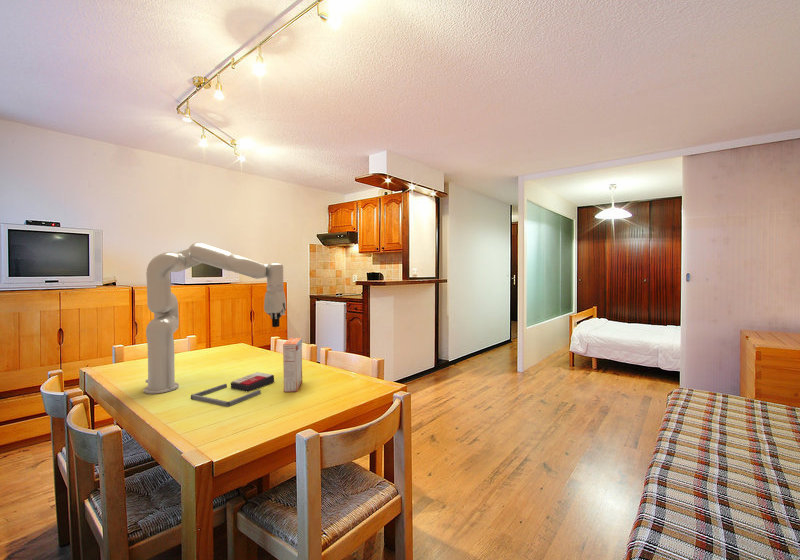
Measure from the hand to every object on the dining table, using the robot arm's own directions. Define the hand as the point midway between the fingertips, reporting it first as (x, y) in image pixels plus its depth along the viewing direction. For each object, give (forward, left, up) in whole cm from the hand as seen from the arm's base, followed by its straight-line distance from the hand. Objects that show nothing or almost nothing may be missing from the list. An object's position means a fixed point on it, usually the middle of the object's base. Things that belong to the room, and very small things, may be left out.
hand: (275, 326), depth 167 cm
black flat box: (-2, -13, -26) cm, 29 cm away
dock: (0, -27, -25) cm, 37 cm away
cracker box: (+17, -7, -25) cm, 31 cm away
